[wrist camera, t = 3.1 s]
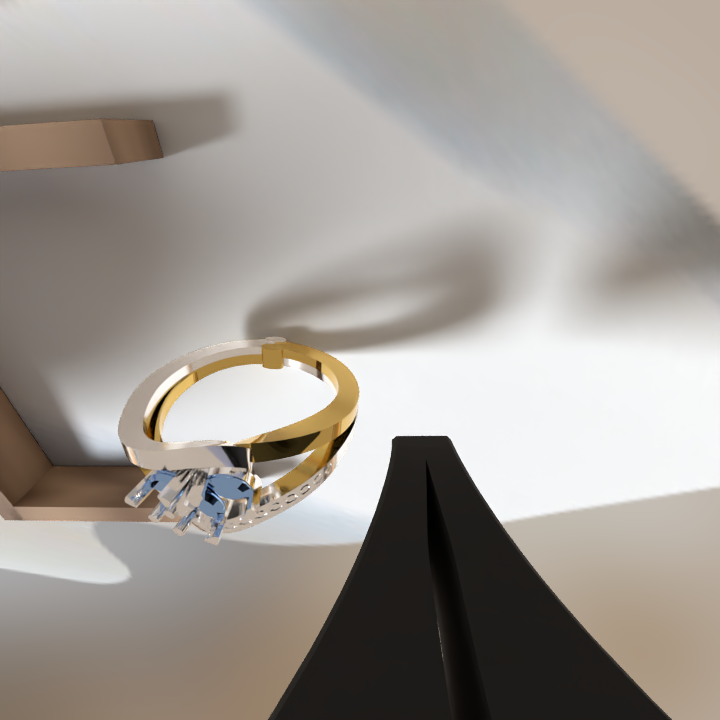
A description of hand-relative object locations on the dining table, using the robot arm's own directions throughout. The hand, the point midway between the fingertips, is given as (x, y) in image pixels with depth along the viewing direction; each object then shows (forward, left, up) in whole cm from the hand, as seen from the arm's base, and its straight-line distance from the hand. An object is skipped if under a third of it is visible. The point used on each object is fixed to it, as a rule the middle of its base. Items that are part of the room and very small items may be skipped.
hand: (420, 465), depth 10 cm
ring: (-5, 0, -7) cm, 8 cm away
